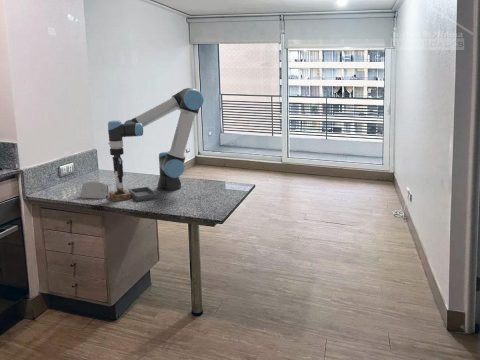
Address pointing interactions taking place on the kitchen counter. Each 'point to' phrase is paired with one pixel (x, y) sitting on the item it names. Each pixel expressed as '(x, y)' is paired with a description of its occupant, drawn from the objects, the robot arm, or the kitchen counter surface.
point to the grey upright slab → (94, 190)
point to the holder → (119, 196)
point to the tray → (143, 194)
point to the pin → (119, 190)
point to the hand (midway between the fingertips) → (119, 186)
